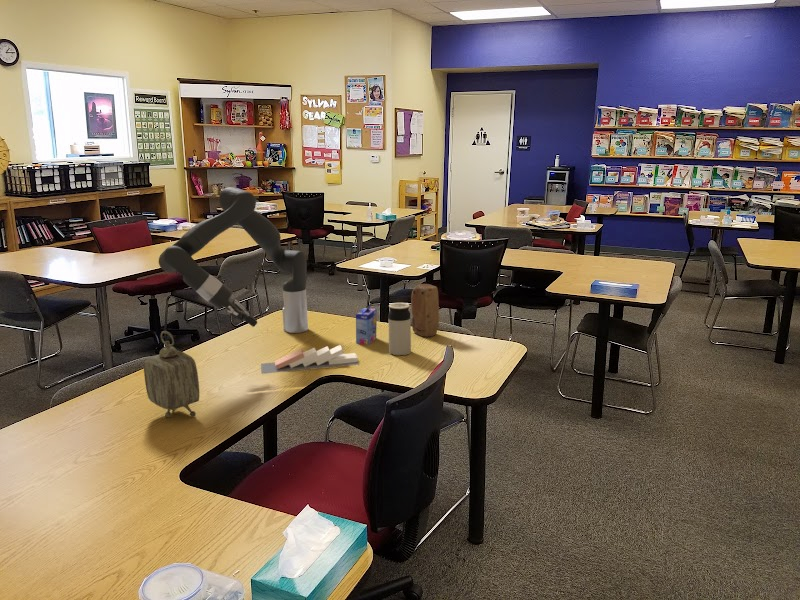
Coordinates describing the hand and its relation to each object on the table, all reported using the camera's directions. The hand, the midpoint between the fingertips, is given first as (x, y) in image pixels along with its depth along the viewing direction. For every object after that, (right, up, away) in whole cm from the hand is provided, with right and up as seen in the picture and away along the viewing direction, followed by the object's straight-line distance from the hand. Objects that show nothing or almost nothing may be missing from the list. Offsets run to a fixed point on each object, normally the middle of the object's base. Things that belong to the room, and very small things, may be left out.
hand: (255, 324), depth 209 cm
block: (+58, -6, +40) cm, 71 cm away
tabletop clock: (-16, -25, -30) cm, 42 cm away
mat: (+17, -15, +8) cm, 24 cm away
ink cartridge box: (+36, -8, +33) cm, 49 cm away
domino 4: (+19, -13, +8) cm, 25 cm away
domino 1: (+6, -14, +5) cm, 16 cm away
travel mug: (+48, -11, +19) cm, 53 cm away
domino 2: (+10, -14, +6) cm, 18 cm away
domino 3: (+15, -14, +7) cm, 21 cm away
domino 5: (+23, -13, +9) cm, 28 cm away
